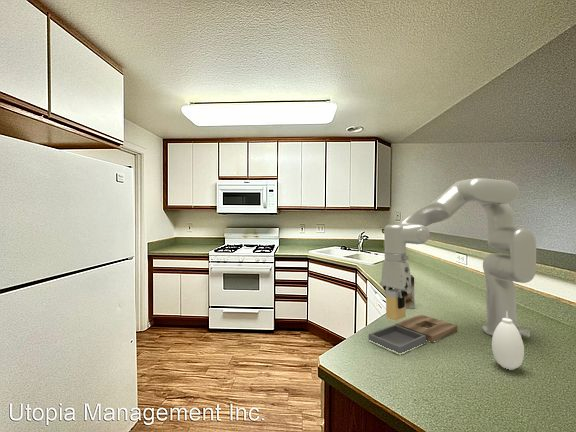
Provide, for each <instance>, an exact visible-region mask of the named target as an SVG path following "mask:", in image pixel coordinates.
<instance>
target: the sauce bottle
mask: <svg viewBox="0 0 576 432" xmlns="http://www.w3.org/2000/svg"><path fill="white" fill-rule="evenodd" d="M512 322H513V321H512V320H511V319H509V318H508V312H507V311H506V318H502V321H501V322H500V323H499V324H498V326H497V327H496V329H495V331H494V334H493V336H492V337H491V338H492V339H491V350H492V354H493V358H494V359H495V361H496V363H497V364H499V365H500V366H501V367H502V368H503V369H505V368H506V369H505V370H507V369H509V370H508V371H513V370H515V369H517V368H519V367H520V366H521V365H522V364H523V361H524V356H525V345H524V341H523V339H522V337H521V335H520V333H519V331H518V329H517V328H516V326H515V325H514V324H513V323H512Z"/></svg>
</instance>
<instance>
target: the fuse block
mask: <svg viewBox="0 0 576 432" xmlns="http://www.w3.org/2000/svg"><path fill="white" fill-rule="evenodd" d="M398 298H399V293H398V289H394V288H393V289H391V290H387V291H386V293H385V310H386V311H385V312H386V313H385V316H386V319H390V320H393V321H398V320H402V319H404V318H406V308H405V307H404V308H401V309H399V308H398Z"/></svg>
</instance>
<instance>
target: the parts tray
mask: <svg viewBox="0 0 576 432" xmlns="http://www.w3.org/2000/svg"><path fill="white" fill-rule="evenodd" d="M369 340H371V341H373V342H375V343H378V344H380V345H382V346H384V347H386V348H389V349H391V350H394V351H396V352H398V353H402V352H405V351H407V350H410V349H412V348H414V347H417V346H419V345H421V344H424V343H426V344H427V341H426V336H425V335H422V334H420V333H417V332H414V331H411V330H409V329H406V328H403V327H400V326H397V325H395V324H392V325H389V326H386V327H384V328H381V329H378V330H376V331H373V332H371V333H368V341H369Z"/></svg>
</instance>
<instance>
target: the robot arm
mask: <svg viewBox="0 0 576 432" xmlns="http://www.w3.org/2000/svg"><path fill="white" fill-rule="evenodd" d="M519 189H520V188H519V186H518V185H517V184H516V183H514V182H513V181H512V180H505V179H495V178H484V177H475V178H473V177H472V178H470V179H469V178H468V179H461V180H458V181H456V182H454V183H453V184H452V185H450V186H449V187H448V188H447V189H446V190H445V191H444V192H442V193H441V194H440V195H439V196H438V197H437V198H435V199H434V200H433V201H432V202H430V203H428V204H426V205H425V206H423V207H421V208H420V209H418V210H416V211H415V212H412V213H411V214H410V215H409V216H407V217H406V218H405V219H404V220H403V221H401V222H400V223H399V224H387V225H385V226H384V227H383V228H384V229H383V230H384V231H383V233H384V234H383V235H384V239H383V240H384V259H383V262H382V267H381V280H380V282H379V286H380V287H382V289H383V290H384V293H385V294H386V291H387V290H391V289H394V288H395V289H398V293H399V298H398V308H399V309H401V308H404V307H405V297H406V296H407V295H408V294H409V293H411V292H413V289H412V287H411V275H412V274H411V269H410V268H411V267H410V265H409V262H408V260H409V256H408V255H407V254H406V253H407V251H406V250H407V244H412V245H422V244H424V243H426V242H427V241H428V240H429V239H430V237H431V235H430V234H431V232H430V230H429V229H428V227H427V226H430V225H432V224H433V225H434V224H436V223H440V222H443V221H446V220H449V219H451V218H452V217H453V216H454V214H455V213H457V212H458V211H459V210H460V209H462V208H463V207H464V206H466V204H468V203H469V202H475V203H477V204H478V205H480V206H481V207H482V208H483V210H484V211H485V213H486V219H487V225H486V229H487V230H486V231H487V232H486V233H487V234H486V237H487V240H486V241H487V244H488V246H489V247H490V248H492V249H493V250H497V251H502V252H509V253H510V254H506V253H500V252H498V253H497V252H495V253H493V252H492V253H489V254H487V255H485V257H484V259H483V261H482V269H483V273H484V276H485V277H484V279H485V289H486V291H485V292H486V293H485V294H486V296H485V297H486V324H484V325H482V331H483V333H485V334H487V335H489V336H492V337H493V334H494V331H495V329H496V327H497V326H498V324H499V323H500V322H501V321H502V318H506V311H507V312H508V318H509V319H511V320H512V321H513V322H512V323H513V324H514V325H515V326H516V328H517V329H518V331H519V333H520V335H521V338H522V337H527V338H530V336H531V332H530V331H529V329H526V328H523V327H522V328H521V327H520V323H517V290H516V289H517V288H516V285H515V283H520V284H526V283H530V282H531V281H532V280H533V279H534V277H535V276H536V271H537V240H536V237H535V235H534V233H533V232H532V231H531V230H530V229H529V228H526V227H522V226H515V220H514V212H513V209H512V207H511V206H510V204H511V203H513V202H515V201H516V200H517V199H518V198H519V195H520V190H519ZM514 282H515V283H514ZM405 288H407V290H405Z"/></svg>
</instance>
